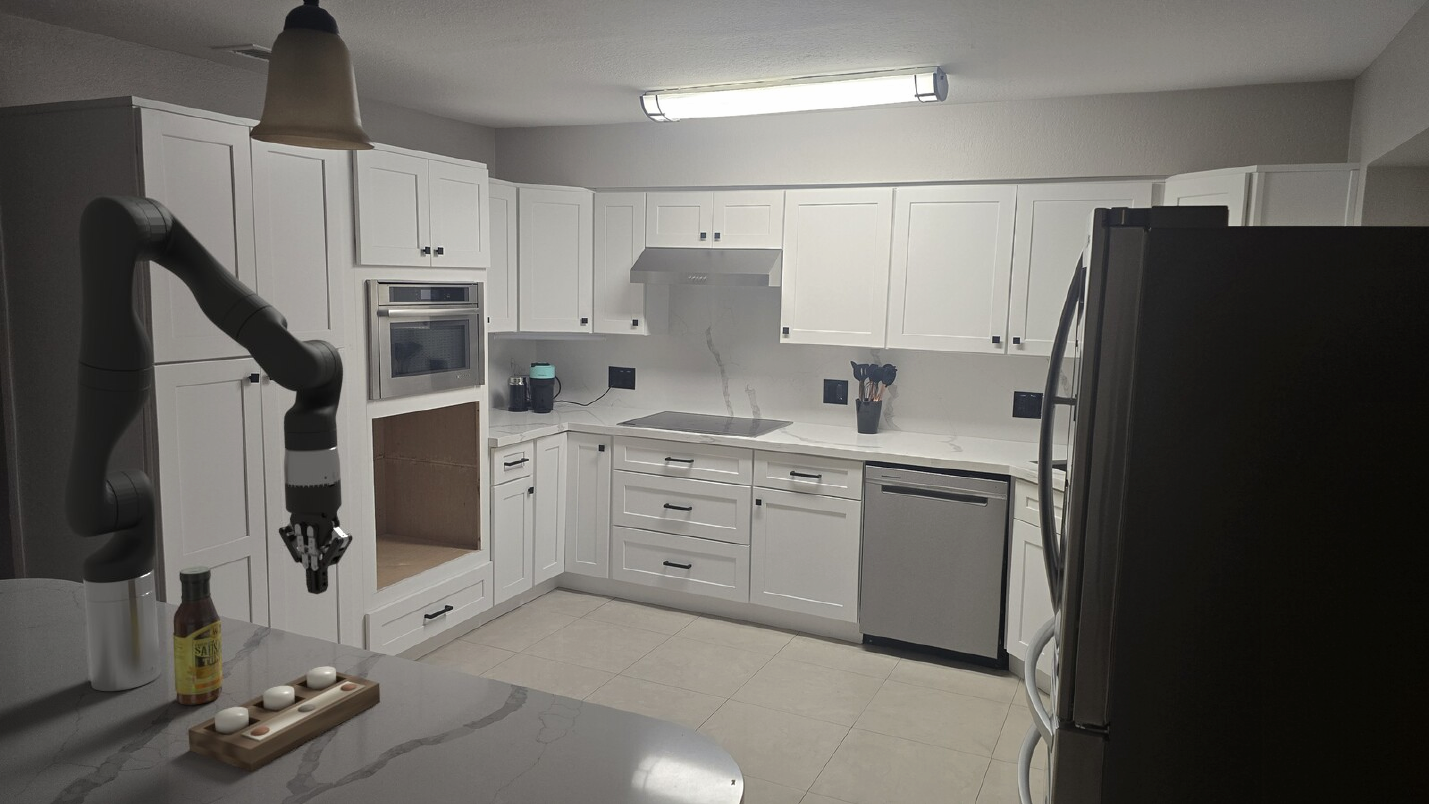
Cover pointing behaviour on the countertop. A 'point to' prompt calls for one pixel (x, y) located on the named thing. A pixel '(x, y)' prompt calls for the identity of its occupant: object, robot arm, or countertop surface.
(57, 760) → the countertop surface
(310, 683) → the button
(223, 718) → the button
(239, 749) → the button panel
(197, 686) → the sauce bottle
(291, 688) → the button
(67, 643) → the countertop surface
